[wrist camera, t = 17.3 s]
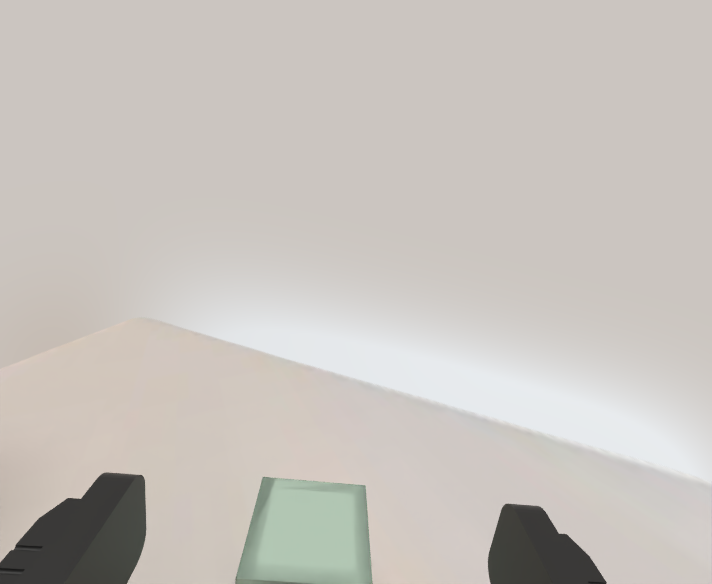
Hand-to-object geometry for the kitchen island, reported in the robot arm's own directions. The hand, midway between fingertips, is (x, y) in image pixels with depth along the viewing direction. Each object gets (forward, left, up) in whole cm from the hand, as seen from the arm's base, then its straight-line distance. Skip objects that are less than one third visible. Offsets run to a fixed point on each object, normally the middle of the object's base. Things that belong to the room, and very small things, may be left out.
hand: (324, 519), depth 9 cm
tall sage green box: (-9, +4, -22) cm, 24 cm away
